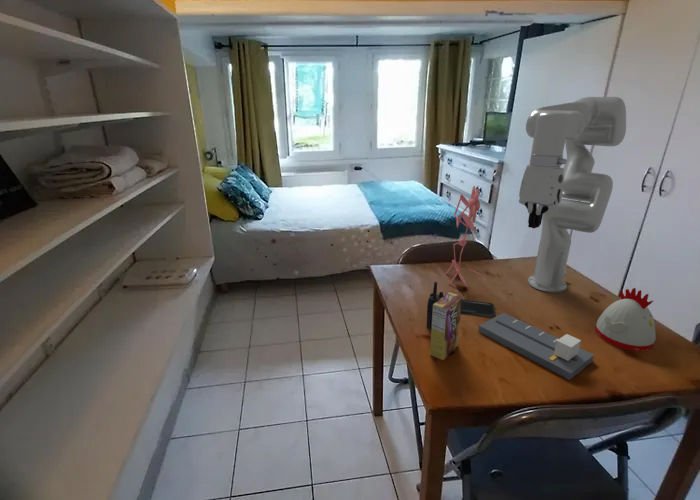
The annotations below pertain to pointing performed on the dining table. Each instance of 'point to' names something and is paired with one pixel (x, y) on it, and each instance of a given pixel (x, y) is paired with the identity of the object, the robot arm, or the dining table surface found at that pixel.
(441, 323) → the candy box
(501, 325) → the fader console
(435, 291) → the two-way radio
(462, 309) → the phone
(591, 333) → the dining table surface
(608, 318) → the kitchen timer
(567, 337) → the fader cap
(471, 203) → the figurine
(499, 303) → the dining table surface
